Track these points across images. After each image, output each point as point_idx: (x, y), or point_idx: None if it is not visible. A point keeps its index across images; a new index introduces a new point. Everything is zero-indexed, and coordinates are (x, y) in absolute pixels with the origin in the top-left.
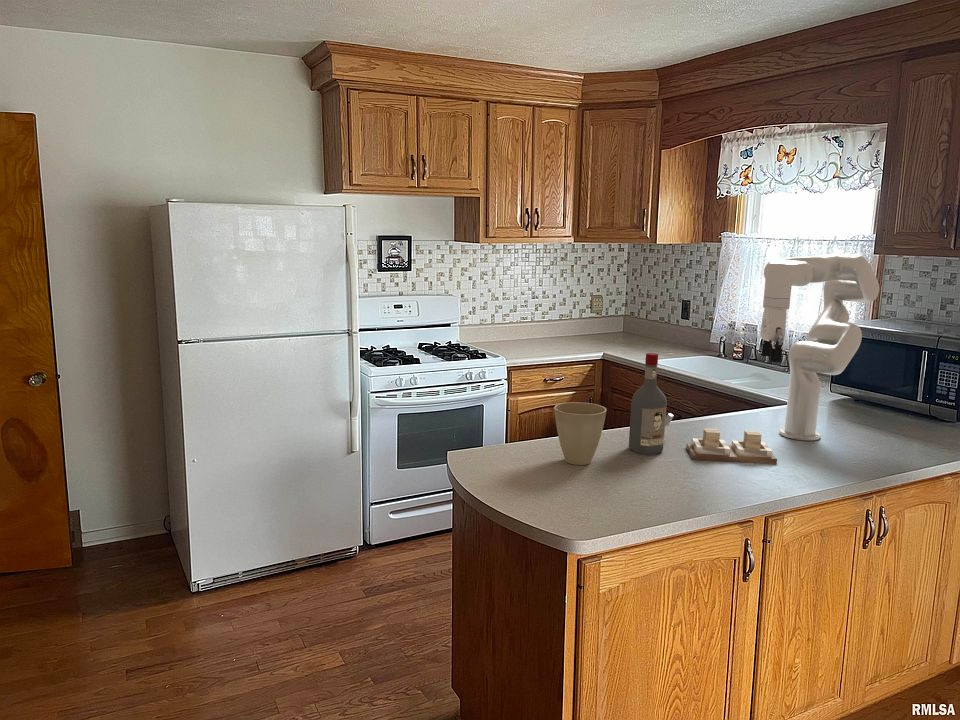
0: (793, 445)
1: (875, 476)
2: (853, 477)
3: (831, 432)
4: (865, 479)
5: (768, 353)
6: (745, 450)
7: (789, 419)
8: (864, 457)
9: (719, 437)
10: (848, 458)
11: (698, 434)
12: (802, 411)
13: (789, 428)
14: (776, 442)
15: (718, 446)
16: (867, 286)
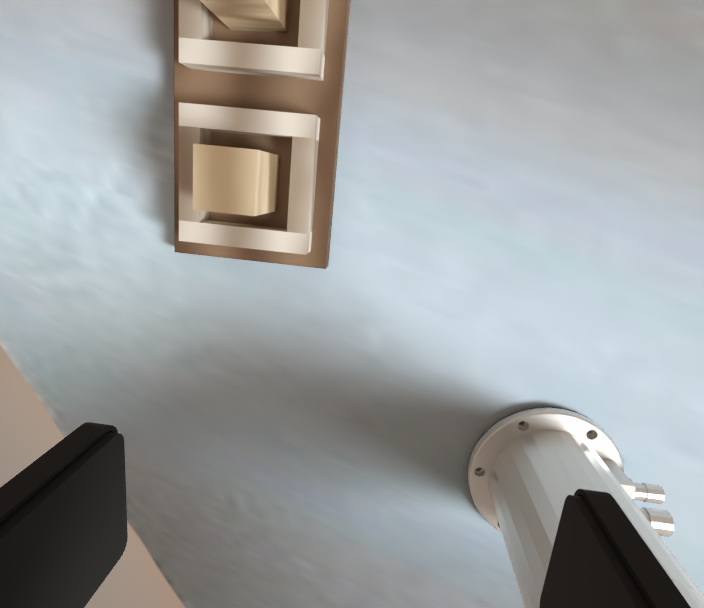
0: (413, 398)
1: None
2: None
3: None
4: None
5: (561, 598)
6: (180, 131)
7: (551, 465)
8: (295, 557)
9: (204, 4)
10: (279, 508)
11: (573, 38)
12: (520, 530)
13: (534, 444)
14: (450, 352)
15: (222, 19)
16: None
